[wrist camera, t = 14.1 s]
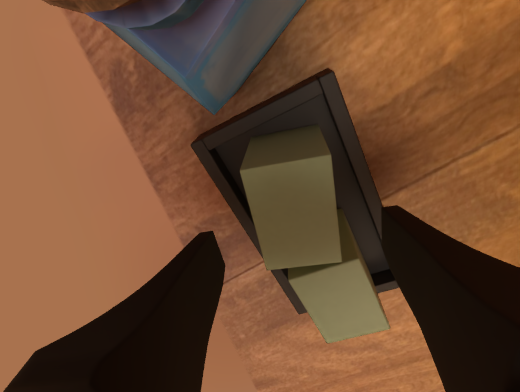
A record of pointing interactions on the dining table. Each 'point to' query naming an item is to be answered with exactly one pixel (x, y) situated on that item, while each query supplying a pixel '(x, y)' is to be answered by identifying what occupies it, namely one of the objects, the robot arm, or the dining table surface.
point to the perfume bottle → (196, 38)
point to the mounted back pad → (340, 292)
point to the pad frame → (343, 163)
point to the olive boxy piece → (292, 198)
